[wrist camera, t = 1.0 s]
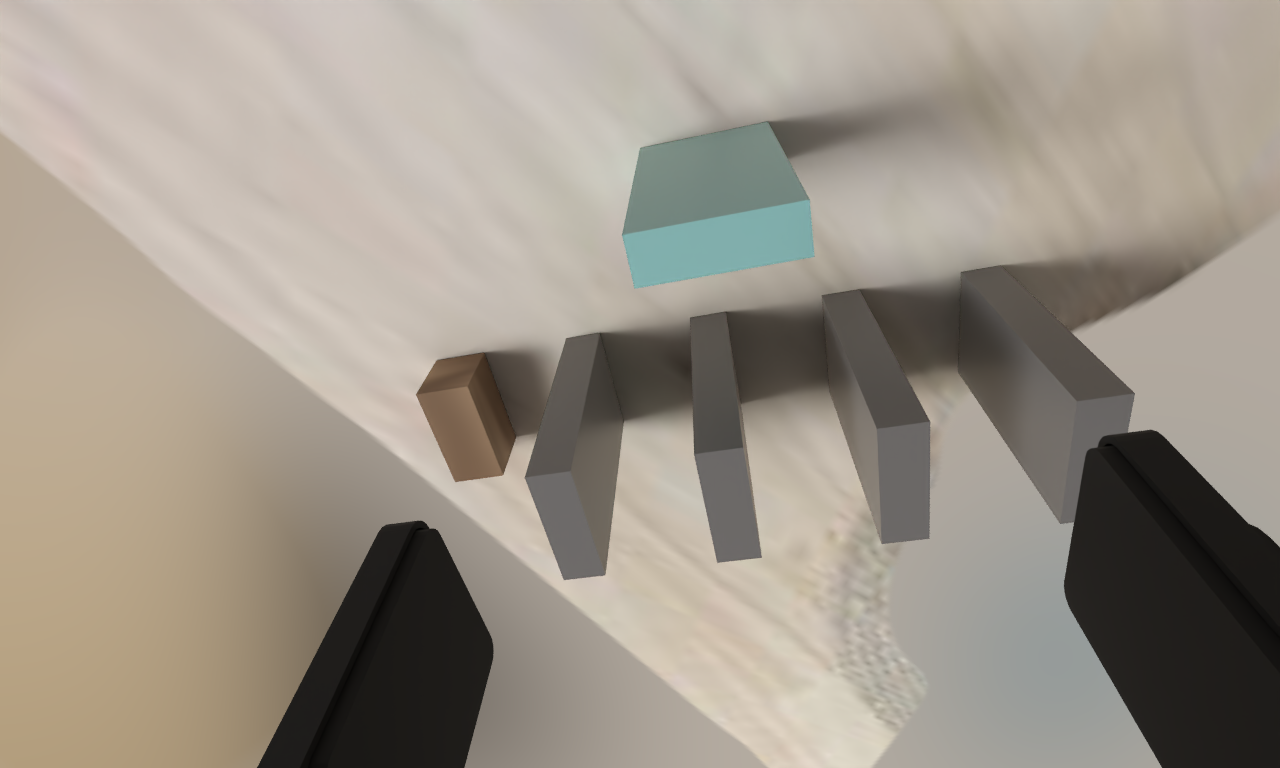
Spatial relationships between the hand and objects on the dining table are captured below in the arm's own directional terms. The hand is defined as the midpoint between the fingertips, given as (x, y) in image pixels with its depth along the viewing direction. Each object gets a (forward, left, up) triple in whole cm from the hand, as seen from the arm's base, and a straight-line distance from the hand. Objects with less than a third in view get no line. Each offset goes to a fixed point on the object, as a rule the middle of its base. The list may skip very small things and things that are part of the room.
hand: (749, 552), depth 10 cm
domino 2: (+5, +7, -21) cm, 22 cm away
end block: (+15, +1, -20) cm, 26 cm away
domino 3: (0, +10, -21) cm, 23 cm away
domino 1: (+10, +4, -21) cm, 23 cm away
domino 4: (-5, +13, -21) cm, 25 cm away
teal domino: (-1, -1, -21) cm, 21 cm away
